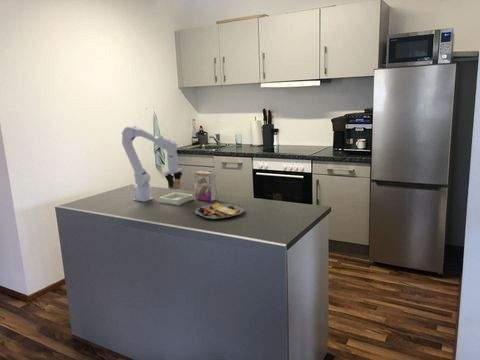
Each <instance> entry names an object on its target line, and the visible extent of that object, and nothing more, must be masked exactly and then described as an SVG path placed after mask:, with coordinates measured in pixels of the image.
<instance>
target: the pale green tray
mask: <svg viewBox="0 0 480 360" xmlns="http://www.w3.org/2000/svg"><path fill="white" fill-rule="evenodd" d="M193 200H194V194H191V193H189V194H188V193H183V192H172V193H169V194H166V195H162V196H160V197H158V202H159V204H165V205H172V206H180V205H182V204H185V203H188V202H191V201H193Z"/></svg>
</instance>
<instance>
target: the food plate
mask: <svg viewBox="0 0 480 360" xmlns="http://www.w3.org/2000/svg"><path fill="white" fill-rule="evenodd" d="M244 211H245V210H244V208H243V207H241V205H237V204H232V203H231V204H230V203H219V201H216V202H214V203H210V204H205V205H202V206H201V205H200V206H198V207H197V208H196V209H194V214H196V215H199V216H201V217H202V218H206V219H212V220H214V219H225V218H230V217H234V216H238V215H241V214H242V213H243V212H244Z"/></svg>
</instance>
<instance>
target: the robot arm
mask: <svg viewBox="0 0 480 360" xmlns="http://www.w3.org/2000/svg"><path fill="white" fill-rule="evenodd" d="M121 135H122V139H121V144H122V147H123V149H124V151H125V154H126V156H127V157H128V160H129V163H130V165H131V167H132V169H133V173H134V174H133V176H134V181H135V182H134V183H135V185H134V187H133V199H132V200H133V201H138V202H149V201H150V200H153V199H154V197H151V189H150V188H151V187H150V186H151V185H150V181H151V175H150V174H149V173H148V172H147V170H146V169H145V168H144V167H143V165H142V162H141V160H140V159H139V156H138V154H137V152H136V149H135V147H134V145H133V142H134V141H135V139H136V138H137V137H138V138H139V137H141V138H144V139H146V140H149V141H152V142H153V144H154V146H157V147H158V148H160V149H163V150H165V152H166V157H167V158H166V159H167V170H166V171H164V172H163V176H164V178H165V179H166V181H167V185H168V184H169V186H170V187H173V179H180V180H181V177H182V176H183V171H184V170H183V169H184V168H183V167H182V168H181V167H179V166H178V164H179V162H178V151H177V150H178V144H177V143H176V141H171V140H170V139H167V138H164V136H163V135H161V136H160V135H158V136H155V135H154V134H153V133H150V132H148V131H146V130H144V129H143V128H141V127H137V126H136V125H131V126H127V127H125V128H124V129H123V130H122V132H121Z"/></svg>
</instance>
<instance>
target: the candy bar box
mask: <svg viewBox="0 0 480 360" xmlns="http://www.w3.org/2000/svg"><path fill="white" fill-rule="evenodd" d="M215 175H216V174H215V172H212V171H211V172H210V171H200V170H199V171H195V172H194V180H195V181H194V183H195V184H194V186H195V185H196V197H195V198H196V199H195V200H198V201H206V202H213V201H216V196H217V195H216V179H215V177H216V176H215Z"/></svg>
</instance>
